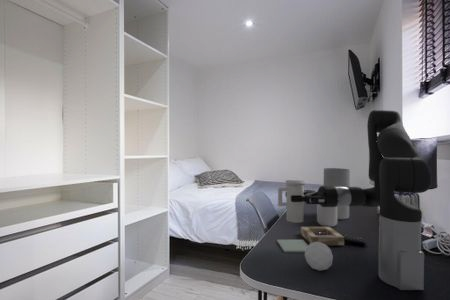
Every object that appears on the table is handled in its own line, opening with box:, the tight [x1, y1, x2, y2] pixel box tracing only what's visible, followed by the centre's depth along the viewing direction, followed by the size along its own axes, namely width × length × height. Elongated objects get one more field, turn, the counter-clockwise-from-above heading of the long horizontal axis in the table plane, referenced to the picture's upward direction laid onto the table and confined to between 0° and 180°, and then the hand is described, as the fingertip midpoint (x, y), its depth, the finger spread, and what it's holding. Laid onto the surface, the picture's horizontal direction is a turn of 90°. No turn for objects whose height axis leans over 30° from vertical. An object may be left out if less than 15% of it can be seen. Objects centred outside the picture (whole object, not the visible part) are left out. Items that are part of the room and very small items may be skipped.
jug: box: [277, 179, 306, 224], centre depth 88 cm, size 7×9×14 cm
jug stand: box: [300, 226, 345, 246], centre depth 95 cm, size 12×12×3 cm
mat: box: [276, 239, 309, 254], centre depth 88 cm, size 10×10×1 cm
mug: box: [316, 204, 338, 228], centre depth 116 cm, size 12×9×11 cm
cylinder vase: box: [322, 167, 351, 220], centre depth 128 cm, size 12×12×25 cm
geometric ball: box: [304, 242, 334, 272], centre depth 72 cm, size 8×8×8 cm
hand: (288, 196), depth 88 cm, fingers closed on jug, 6 cm apart
